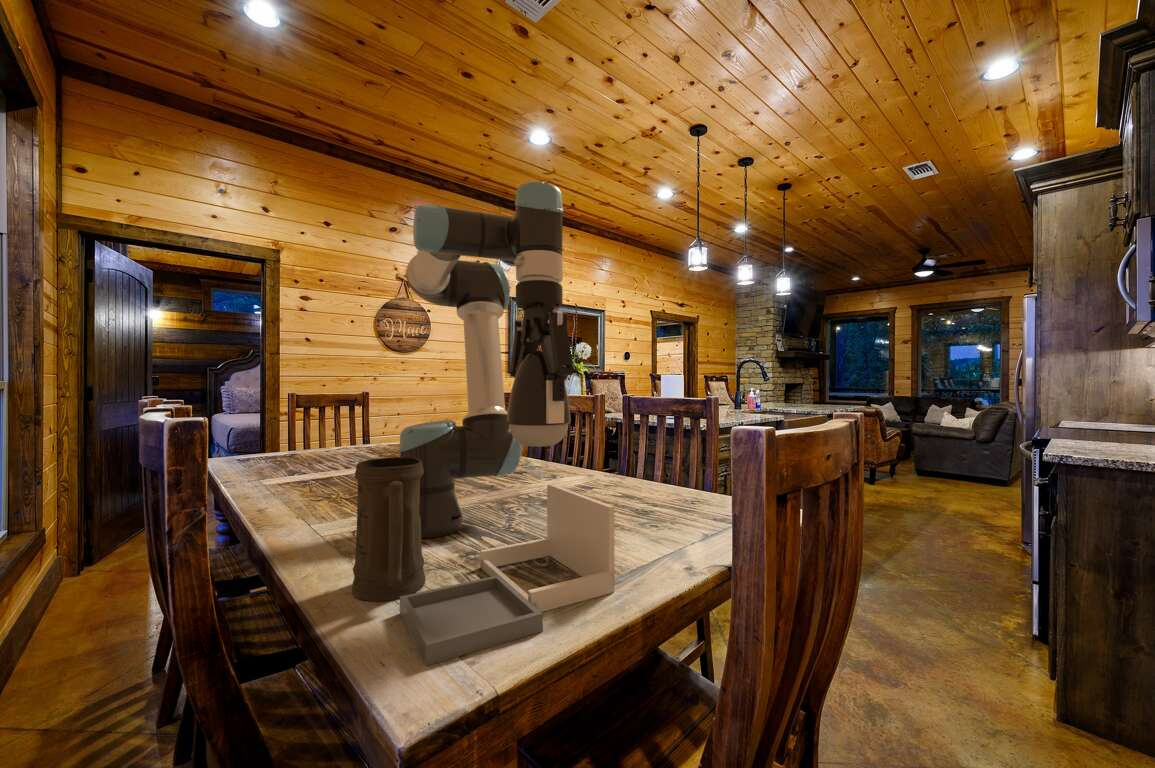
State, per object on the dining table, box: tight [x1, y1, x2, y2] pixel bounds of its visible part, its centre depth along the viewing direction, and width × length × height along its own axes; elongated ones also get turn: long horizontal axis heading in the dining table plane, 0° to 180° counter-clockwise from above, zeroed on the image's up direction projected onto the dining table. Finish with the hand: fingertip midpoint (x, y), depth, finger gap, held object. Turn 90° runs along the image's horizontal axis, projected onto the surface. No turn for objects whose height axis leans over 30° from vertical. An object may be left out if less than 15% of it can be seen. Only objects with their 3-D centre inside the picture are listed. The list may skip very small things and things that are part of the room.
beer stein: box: [351, 456, 427, 602], centre depth 73 cm, size 15×11×20 cm
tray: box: [399, 575, 544, 667], centre depth 64 cm, size 15×15×2 cm
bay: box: [479, 483, 615, 613], centre depth 78 cm, size 20×14×13 cm
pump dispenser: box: [506, 349, 571, 448], centre depth 78 cm, size 10×10×15 cm
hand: (538, 420), depth 78 cm, fingers closed on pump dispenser, 10 cm apart
